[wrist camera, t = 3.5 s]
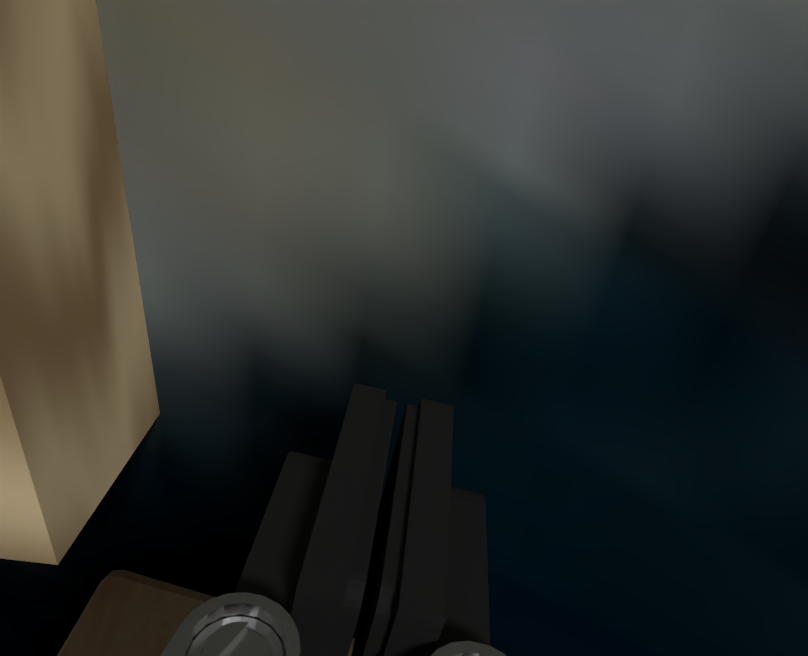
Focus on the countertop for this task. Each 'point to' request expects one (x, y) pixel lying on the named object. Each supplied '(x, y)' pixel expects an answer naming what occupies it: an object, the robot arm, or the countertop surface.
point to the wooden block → (132, 617)
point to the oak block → (63, 283)
